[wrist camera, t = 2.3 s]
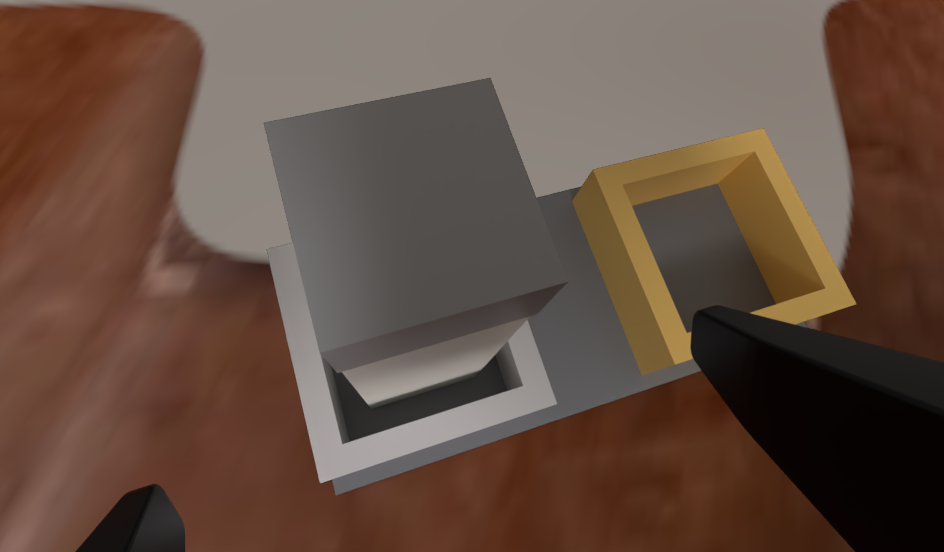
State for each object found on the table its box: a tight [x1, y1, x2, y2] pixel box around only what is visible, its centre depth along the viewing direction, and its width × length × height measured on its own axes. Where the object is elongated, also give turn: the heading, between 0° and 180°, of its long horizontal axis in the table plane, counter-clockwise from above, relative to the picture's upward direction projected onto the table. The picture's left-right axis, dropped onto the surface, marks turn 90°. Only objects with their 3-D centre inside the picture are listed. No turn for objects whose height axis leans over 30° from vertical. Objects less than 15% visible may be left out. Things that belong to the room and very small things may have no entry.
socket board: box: [267, 128, 856, 495], centre depth 19 cm, size 18×8×3 cm, turn 108°
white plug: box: [264, 78, 568, 409], centre depth 13 cm, size 4×4×11 cm
